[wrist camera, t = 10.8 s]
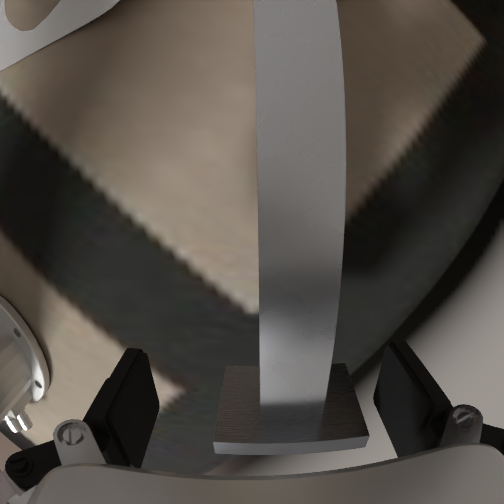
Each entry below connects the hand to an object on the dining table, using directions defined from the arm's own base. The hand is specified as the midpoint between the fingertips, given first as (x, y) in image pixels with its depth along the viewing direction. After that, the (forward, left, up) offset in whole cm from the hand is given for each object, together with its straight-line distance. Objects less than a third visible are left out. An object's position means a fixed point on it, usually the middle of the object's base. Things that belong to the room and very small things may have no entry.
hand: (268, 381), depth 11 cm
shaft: (+9, -1, -3) cm, 9 cm away
